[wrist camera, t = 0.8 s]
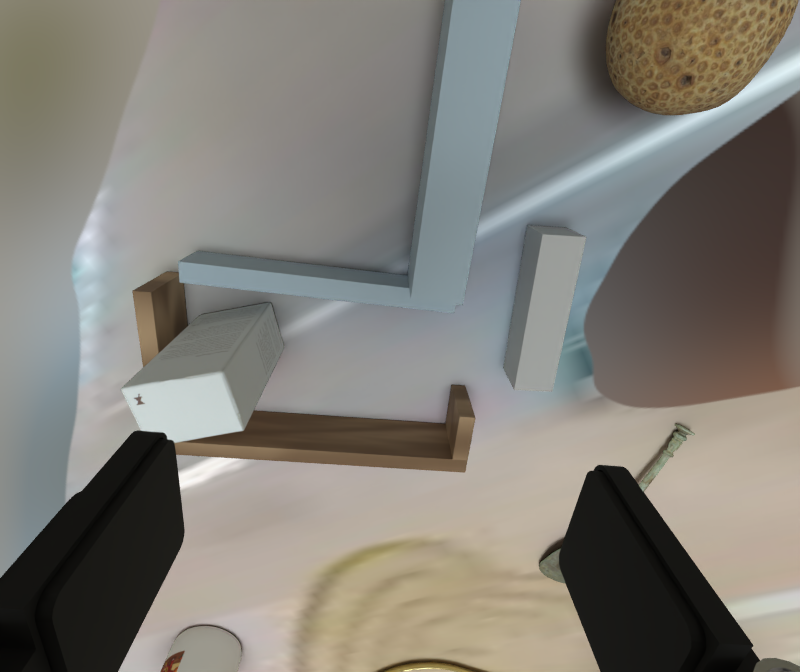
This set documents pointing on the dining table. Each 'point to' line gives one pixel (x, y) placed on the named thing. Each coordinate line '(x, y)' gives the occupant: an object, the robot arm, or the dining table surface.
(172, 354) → the skincare box
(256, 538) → the dining table surface
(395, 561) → the dining table surface
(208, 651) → the milk bottle
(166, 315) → the wooden u-shaped tray
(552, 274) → the grey plastic stick
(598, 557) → the robot arm
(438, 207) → the crook
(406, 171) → the dining table surface
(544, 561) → the soupspoon
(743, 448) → the dining table surface
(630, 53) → the natural sponge
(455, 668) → the serving platter
